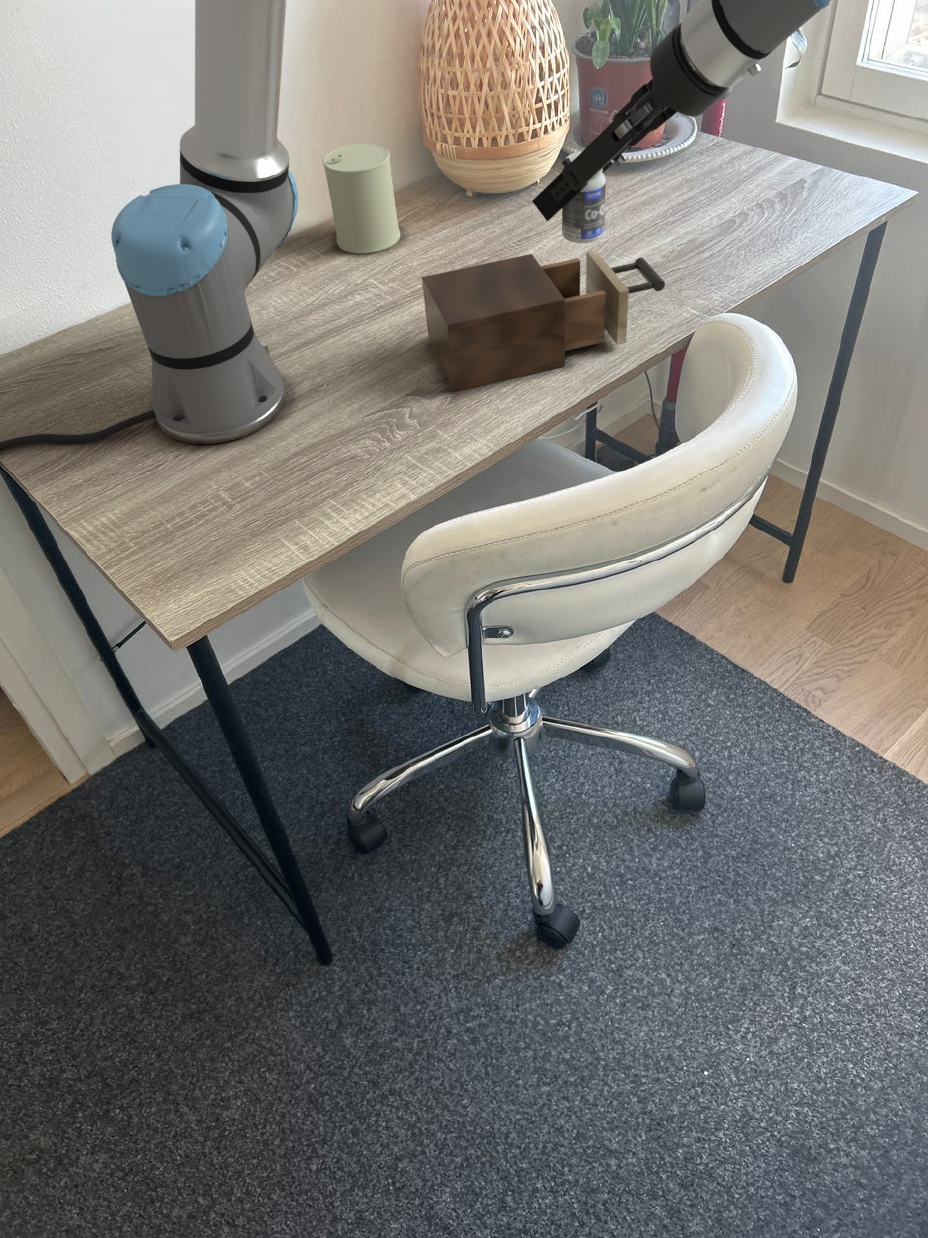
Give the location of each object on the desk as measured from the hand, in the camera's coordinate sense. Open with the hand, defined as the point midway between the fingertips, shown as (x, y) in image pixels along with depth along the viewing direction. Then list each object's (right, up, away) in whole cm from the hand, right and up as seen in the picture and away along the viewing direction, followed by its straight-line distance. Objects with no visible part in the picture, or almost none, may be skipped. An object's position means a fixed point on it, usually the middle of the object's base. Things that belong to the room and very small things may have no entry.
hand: (554, 199), depth 109 cm
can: (-24, +8, +32) cm, 40 cm away
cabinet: (-6, -15, +9) cm, 18 cm away
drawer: (+4, -11, +9) cm, 16 cm away
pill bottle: (+3, -4, +1) cm, 5 cm away
